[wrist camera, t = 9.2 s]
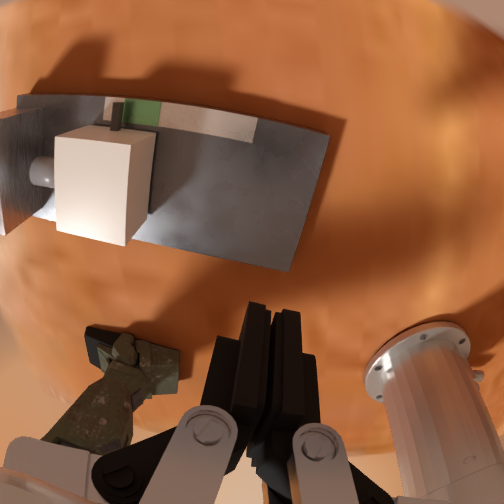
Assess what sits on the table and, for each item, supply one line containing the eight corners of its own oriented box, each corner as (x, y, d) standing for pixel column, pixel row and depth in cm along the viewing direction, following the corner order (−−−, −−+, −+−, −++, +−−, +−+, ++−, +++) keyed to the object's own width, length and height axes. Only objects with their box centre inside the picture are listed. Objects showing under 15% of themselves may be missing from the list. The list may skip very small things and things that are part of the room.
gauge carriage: (160, 105, 17) (135, 110, 14) (147, 218, 21) (125, 246, 18) (57, 97, 17) (20, 105, 13) (54, 200, 21) (23, 222, 17)
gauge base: (326, 132, 20) (349, 152, 14) (287, 261, 24) (292, 317, 19) (28, 93, 18) (-28, 106, 12) (28, 205, 23) (-18, 239, 17)
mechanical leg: (64, 358, 31) (44, 606, 6) (52, 314, 28) (9, 609, 3) (176, 369, 35) (210, 626, 10) (180, 326, 32) (222, 641, 7)
